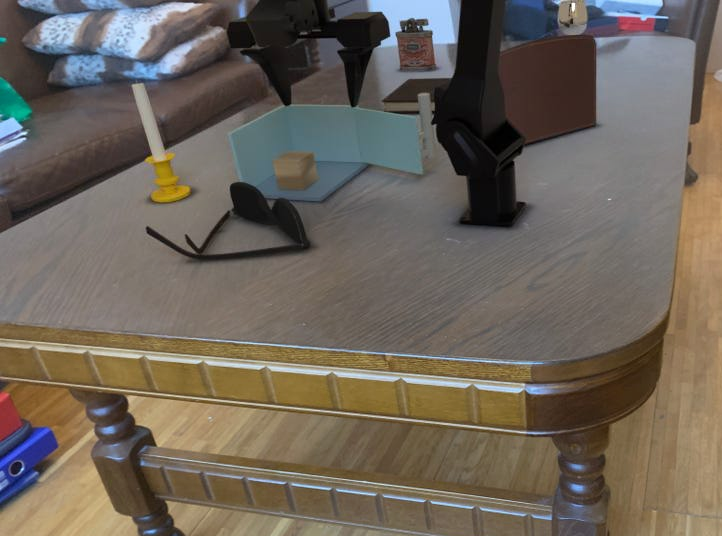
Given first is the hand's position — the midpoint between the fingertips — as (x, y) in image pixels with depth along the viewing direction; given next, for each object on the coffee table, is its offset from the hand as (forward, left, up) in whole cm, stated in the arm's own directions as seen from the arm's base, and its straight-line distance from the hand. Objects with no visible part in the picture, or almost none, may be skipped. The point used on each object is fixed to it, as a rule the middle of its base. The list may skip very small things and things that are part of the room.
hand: (320, 106), depth 93 cm
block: (+3, +7, -11) cm, 14 cm away
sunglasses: (-16, +6, -12) cm, 21 cm away
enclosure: (+6, +8, -12) cm, 16 cm away
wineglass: (+74, -14, -12) cm, 76 cm away
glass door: (+12, -4, -11) cm, 17 cm away
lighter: (+72, +19, -12) cm, 75 cm away
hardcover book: (+48, +1, -12) cm, 50 cm away
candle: (-2, +25, -12) cm, 28 cm away
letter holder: (+30, -17, -12) cm, 37 cm away
